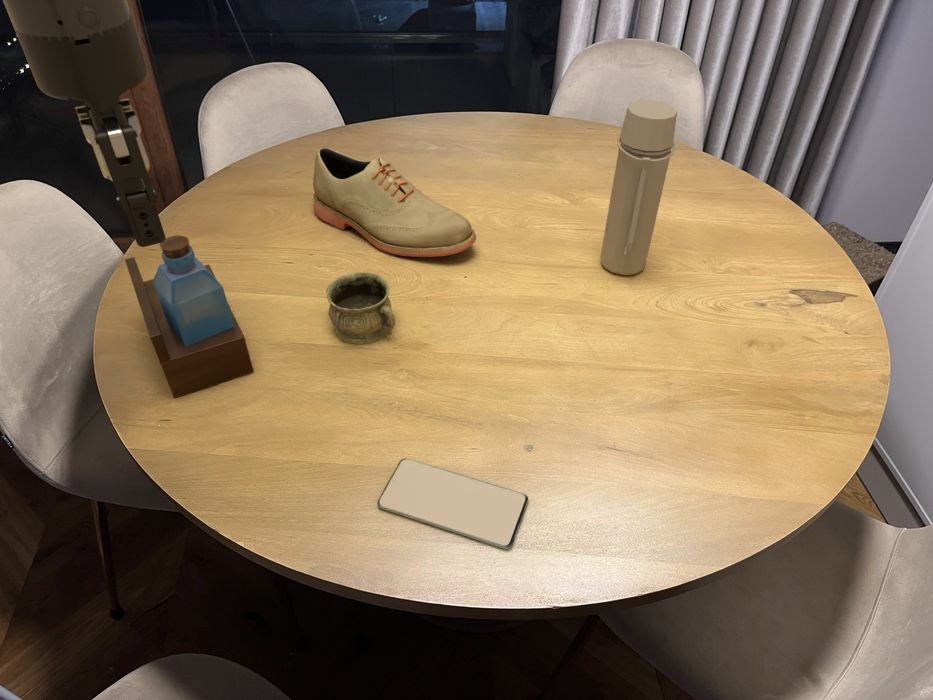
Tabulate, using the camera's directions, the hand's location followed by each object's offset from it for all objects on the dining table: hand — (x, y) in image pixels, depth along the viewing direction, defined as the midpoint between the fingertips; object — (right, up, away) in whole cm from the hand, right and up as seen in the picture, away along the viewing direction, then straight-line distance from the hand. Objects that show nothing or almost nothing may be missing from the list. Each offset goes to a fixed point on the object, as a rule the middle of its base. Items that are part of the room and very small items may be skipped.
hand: (142, 219), depth 58 cm
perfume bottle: (-6, -8, +27) cm, 29 cm away
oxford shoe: (+15, +8, +55) cm, 58 cm away
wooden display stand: (-9, -10, +33) cm, 36 cm away
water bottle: (+52, +2, +48) cm, 71 cm away
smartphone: (+26, -28, +15) cm, 41 cm away
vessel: (+13, -8, +37) cm, 40 cm away
